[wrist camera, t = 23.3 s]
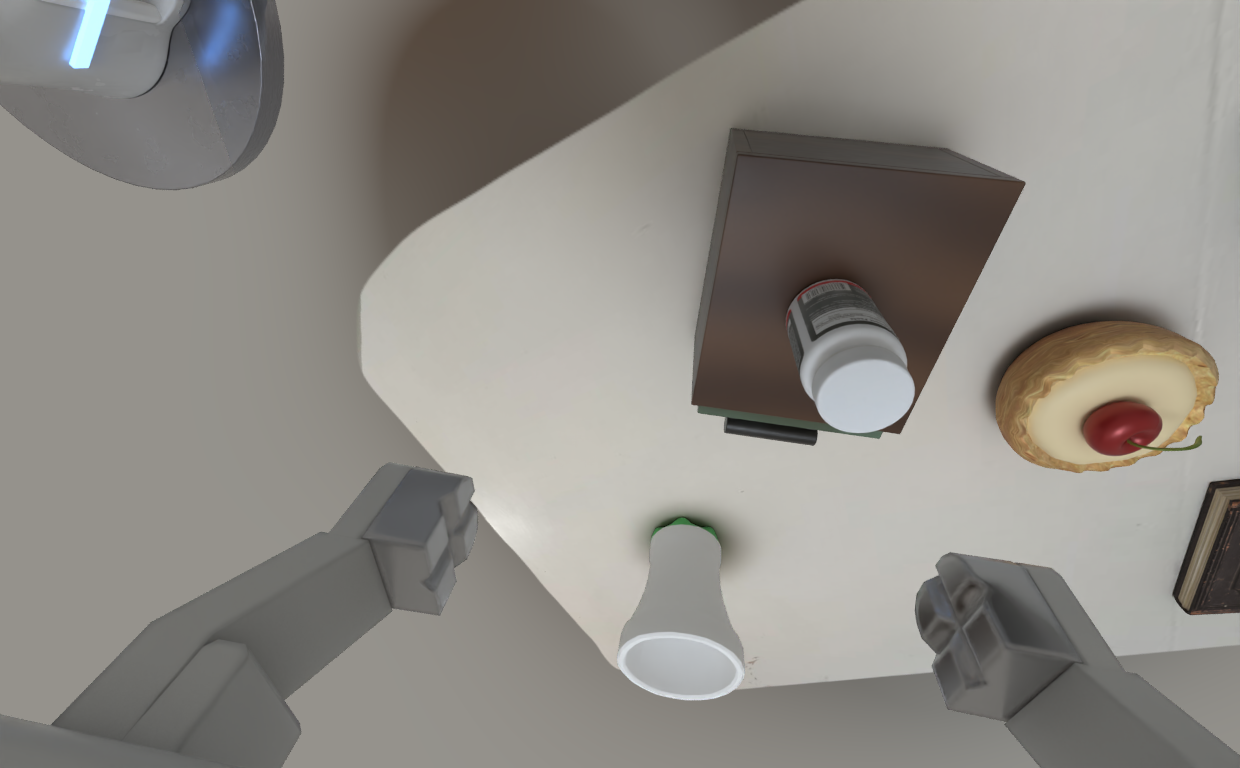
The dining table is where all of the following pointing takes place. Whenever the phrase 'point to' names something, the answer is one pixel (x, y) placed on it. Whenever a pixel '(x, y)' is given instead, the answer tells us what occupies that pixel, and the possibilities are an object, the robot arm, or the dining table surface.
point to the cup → (682, 620)
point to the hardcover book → (1213, 556)
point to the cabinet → (837, 255)
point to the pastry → (1104, 395)
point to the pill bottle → (848, 357)
